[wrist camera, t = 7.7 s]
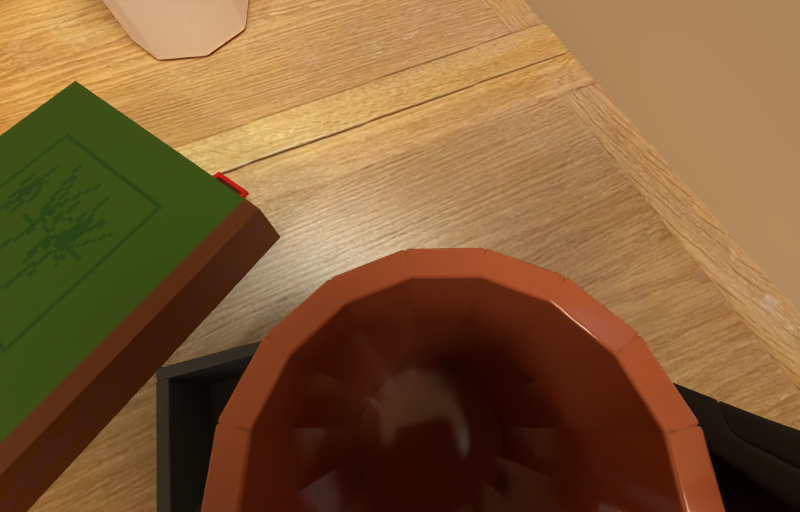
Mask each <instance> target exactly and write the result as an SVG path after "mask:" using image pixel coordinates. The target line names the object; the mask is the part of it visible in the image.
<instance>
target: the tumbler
mask: <svg viewBox="0 0 800 512" xmlns="http://www.w3.org/2000/svg"><path fill="white" fill-rule="evenodd" d="M218 422H219V424H217V426H216V430H215V436H214V441H213V447H212V452H211V458H210V464H209V469H208V475H207V480H206V486H205V492H204V497H203V503H202V508H201V512H725V508H724V505H723V501H722V498H721V494H720V491H719V487H718V484H717V480H716V477H715V473H714V469H713V466H712V462H711V459H710V455H709V452H708V448H707V445H706V441H705V438H704V434H703V431H702V429H701V427H700V426H697V425H698V424H699V423H698V420H697V418H696V417H695V415H694V414H693V412H692V411H691V410H690V408H689V407H688V405H687V404H686V402H685V401H684V399H683V398H682V396H681V395H680V393H679V392H678V390H677V389H676V387H675V386H674V384H673V383H672V381H671V380H670V378H669V377H668V375H667V374H666V372H665V371H664V369H663V368H662V366H661V365H660V363H659V362H658V360H657V359H656V357H655V356H654V354H653V353H652V351H651V350H650V348H649V347H648V345H647V344H646V343H645V341H644V340H643V338H642V337H640V336H638V333H637V332H636V331H635V330H634V329H632V328H631V327H630V326H629V325H627V324H626V323H625V322H624V321H622V320H621V319H620V318H618V317H617V316H616V315H615V314H613V313H612V312H611V311H609V310H608V309H607V308H606V307H604V306H603V305H602V304H601V303H599V302H598V301H597V300H595V299H594V298H593V297H592V296H590V295H589V294H588V293H587V292H585V291H584V290H583V289H581V288H580V287H579V286H578V285H576V284H575V283H574V282H572V281H571V280H570V279H569V278H564V276H563V275H561V274H558V273H556V272H553V271H550V270H547V269H544V268H541V267H538V266H535V265H533V264H530V263H527V262H524V261H521V260H518V259H515V258H513V257H510V256H507V255H504V254H501V253H498V252H495V251H492V250H490V249H485V250H484V249H483V248H440V249H407V250H406V251H404V250H401V251H399V252H396V253H393V254H391V255H388V256H386V257H383V258H381V259H378V260H375V261H373V262H370V263H368V264H365V265H363V266H360V267H357V268H355V269H352V270H350V271H347V272H345V273H342V274H340V275H337V276H334V277H333V278H332V279H331V280H328V281H326V282H325V283H324V284H323V285H322V286H321V287H319V288H318V289H317V290H316V291H315V292H314V293H313V294H312V295H310V296H309V297H308V298H307V299H306V300H305V301H304V302H303V303H301V304H300V305H299V306H298V307H297V308H296V309H295V310H294V311H292V312H291V313H290V314H289V315H288V316H287V317H286V318H285V319H283V320H282V321H281V322H280V323H279V324H278V325H277V326H276V327H274V328H273V329H272V330H271V331H270V332H269V333H268V334H267V337H264V338H263V339H262V341H261V343H260V345H259V347H258V349H257V350H256V352H255V354H254V356H253V358H252V359H251V361H250V363H249V365H248V367H247V368H246V370H245V372H244V374H243V376H242V377H241V379H240V381H239V383H238V385H237V387H236V388H235V390H234V392H233V394H232V396H231V397H230V399H229V401H228V403H227V405H226V406H225V408H224V410H223V412H222V414H221V415H220V417H219V419H218Z"/></svg>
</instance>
